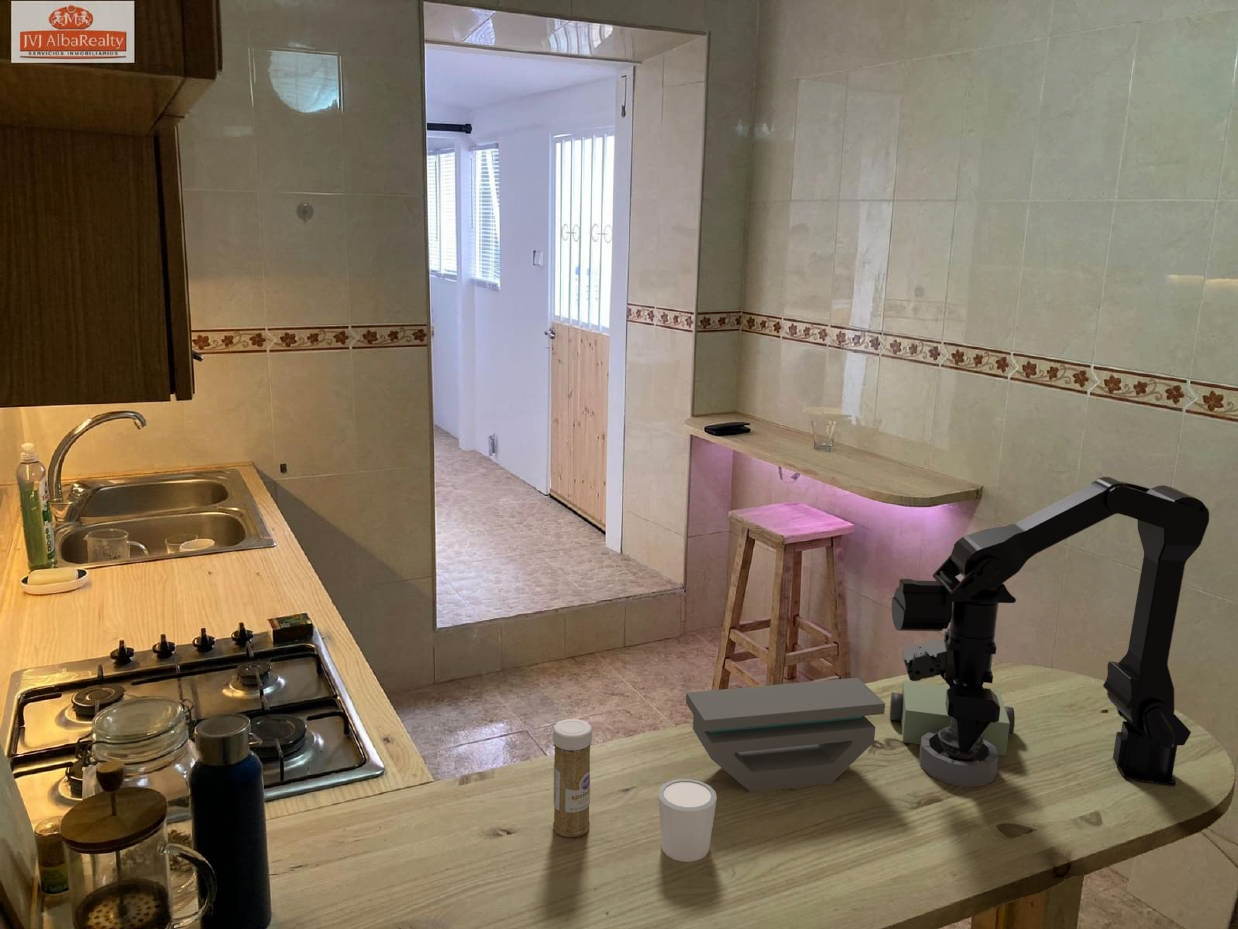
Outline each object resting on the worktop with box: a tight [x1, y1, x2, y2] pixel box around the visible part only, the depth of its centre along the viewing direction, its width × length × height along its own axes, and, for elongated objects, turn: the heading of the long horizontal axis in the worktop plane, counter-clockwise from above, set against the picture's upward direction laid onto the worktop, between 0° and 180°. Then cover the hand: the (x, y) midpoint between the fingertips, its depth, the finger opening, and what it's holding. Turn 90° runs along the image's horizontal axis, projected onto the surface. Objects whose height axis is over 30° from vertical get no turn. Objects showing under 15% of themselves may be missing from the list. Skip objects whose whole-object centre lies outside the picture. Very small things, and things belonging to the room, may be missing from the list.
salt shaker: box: [938, 685, 984, 762], centre depth 131 cm, size 6×6×12 cm
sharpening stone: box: [685, 677, 886, 793], centre depth 129 cm, size 25×8×11 cm, turn 103°
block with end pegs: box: [889, 680, 1016, 788], centre depth 137 cm, size 17×20×5 cm
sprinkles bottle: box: [552, 718, 593, 838], centre depth 115 cm, size 5×5×14 cm
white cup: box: [657, 778, 718, 863], centre depth 113 cm, size 7×7×7 cm
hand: (960, 737), depth 132 cm, fingers closed on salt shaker, 7 cm apart
